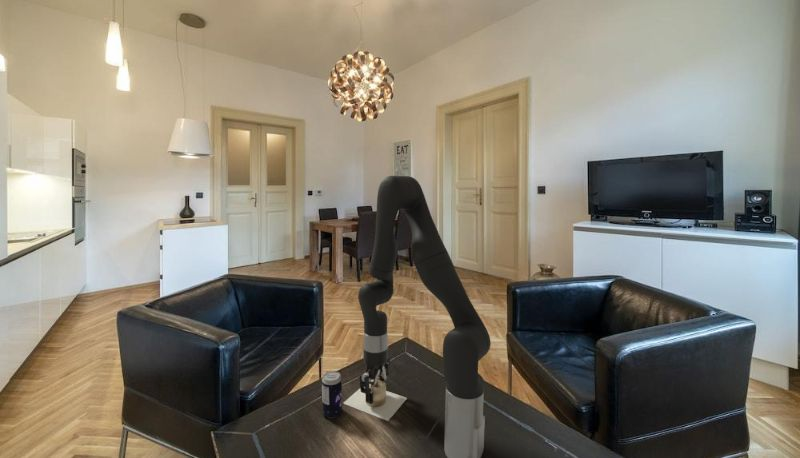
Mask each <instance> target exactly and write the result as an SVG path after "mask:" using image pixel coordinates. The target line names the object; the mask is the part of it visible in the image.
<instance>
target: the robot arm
mask: <svg viewBox="0 0 800 458" xmlns="http://www.w3.org/2000/svg"><path fill="white" fill-rule="evenodd" d="M399 211H403V212H404V214H405V216H406V219H407V220H408V221H407V222H408V223H409V226H410V228H411V229H410V230H411V259H412V261H413V264H414V267H415V269H416V271H417V274H418V277H419V278H420V280H421V283H422V284H423V285H424V287H426V289H427V290H428V291H429V292H430V293H431V294H432V295H433V296H434V297H436V299H438V301H439V302H440V303H441V304H442V305H443V306H444V308H445V310H446V311H447V313H448V315H449V317H450V319H451V321H452V324H453V329H451V330H449V331H448V332H447V333H446V334H445V336H444V338H443V343H442V372H443V373H442V374H443V378H444V380H445V407H444V411H445V414H444V440H443V444H444V446H443V447H444V448H443V449H444V454H445V456H446V457H447V458H482V455H483V453H484V449H485V446H484V443H485V426H486V425H485V424H486V423H485V421H486V420H485V419H486V416H485V415H484V394H485V380H484V377H482V375H481V374H480V373H479V361H480V360H482V359H483V358H484V357H485V356H486V355H487V353H489V351H490V348H491V342H492V341H491V337H490V334H489V331H488V329H487V328H486V326H485V324H484V322H483V320H482V319H481V317H480V315H479V314H478V312H477V311H476V308H475V307H474V305H473V304H472V302H471V299H470V298H469V296H468V294H467V291H466V289H465V288H464V285H463V283H462V281H461V279H460V277H459V275H458V273H457V270H456V268H455V265H454V262H453V260H452V259H451V257H450V254H449V252H448V250H447V248H446V246H445V244H444V242H443V240H442V237H441V235H440V233H439V231H438V229H437V227H436V224H435V221H434V220H433V217H432V214H431V211H430V209H429V206H428V203H427V200H426V196H425V193H424V191H423V189H422V186H421V184H420V183H419V181H418V180H417V179H416V178H414V177H413V176H408V175H389V176H386V177H383V179H382V180H381V182H380V183H379V187H378V190H377V199H376V215H375V216H376V217H375V236H374V245H373V250H372V253H371V259H370V264H369V269H368V272H369V274H370V276H371V277H373V278H374V279H376V280H375V281H372V282H369V283H365V284H362V286H360V288H359V290H358V293H357V297H358V298H357V299H358V303H359V305H360V309H361V313H362V317H363V338H362V339H363V341H362V343H363V348H362V349H363V353H362V354H363V355H362V357H363V363H365V365H366V368H365V372H364V374H363V373H360V375H359V385H360V387H359V389H361V392H362V393H365V394H366V403H369V404H372V403H373V389H374V385H376V383H377V380H382V381H384V382H385V383H386V380H387V378H388V376H389V375H390V369H391V368H390V367H391V366H390V365H391V357H390V356H389V336H388V316H387V314H386V312H385V311H383V310H377V307H378V306H381V305H383V304H386V303H388V302H389V301H390V300H392V297H393V295H394V269H395V265H396V261H397V257H398V244H397V239H396V235H395V221H396V219H397V216H398V212H399ZM371 380H374V381H371ZM369 384H371V388H369ZM364 387H365V388H364Z"/></svg>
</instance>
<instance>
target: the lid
mask: <svg viewBox="0 0 800 458" xmlns="http://www.w3.org/2000/svg"><path fill="white" fill-rule="evenodd" d="M370 381H374V380H372V379H370ZM369 388H371V384H369ZM386 391H387V383H386V381H385V382H384V381H382V380H378V379H377V383H376V385H374V389H373V403H372V404H369V403H366V404H367V405H368V406H371V407H379V406H382V405H384V404H385V402H386ZM365 402H366V394H365Z"/></svg>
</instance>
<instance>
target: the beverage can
mask: <svg viewBox="0 0 800 458" xmlns="http://www.w3.org/2000/svg"><path fill="white" fill-rule="evenodd" d="M321 395H322V396H321V398H322V400H321V405H322V407H321V408H322V415H323V416H324V417H326V418H328V419H334V418H337V417H339V416H340V415H341V414H342V412H343V378H342V376H341V373H340V372H339V371H327V372H326V373H324V375H323V376H322V379H321Z"/></svg>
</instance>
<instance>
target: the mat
mask: <svg viewBox="0 0 800 458" xmlns="http://www.w3.org/2000/svg"><path fill="white" fill-rule="evenodd" d="M364 388H365V387H364ZM406 400H408V397H405V396H402V395H399V394H397V393H394V392H390V391H387V390H386V402H385V404H384V405H382V406H379V407H371V406H368V405H367V404H366V402H365V393H362V392H361V389H360V388H358V390H356V391H355V392H354V393H353V394H352V395H351V396H349V398H347V399H346V400H345V401H343V402H342V405H343V404H344V405H345V406H346V405H347V406H349V407H351V408H354V409H356V410H359V411H361V412H363V413H367V414H369V415H372V416H374V417H377V418H379V419H381V420H385V421H386V422H388V421H390V419H391V418H392V417H393V416H394V415H395V413H396V412H397V411H398V410H399V408H401V406H402V405H403V404H404V403H405V401H406Z"/></svg>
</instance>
